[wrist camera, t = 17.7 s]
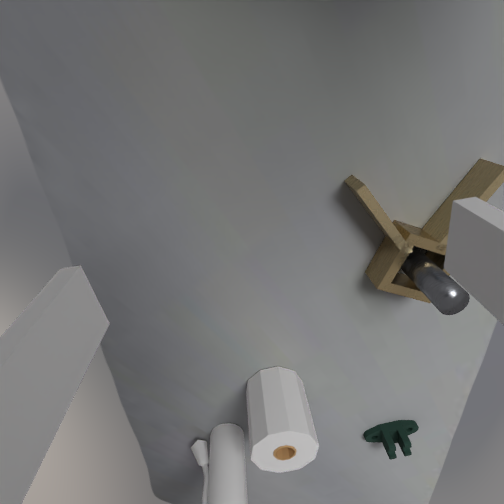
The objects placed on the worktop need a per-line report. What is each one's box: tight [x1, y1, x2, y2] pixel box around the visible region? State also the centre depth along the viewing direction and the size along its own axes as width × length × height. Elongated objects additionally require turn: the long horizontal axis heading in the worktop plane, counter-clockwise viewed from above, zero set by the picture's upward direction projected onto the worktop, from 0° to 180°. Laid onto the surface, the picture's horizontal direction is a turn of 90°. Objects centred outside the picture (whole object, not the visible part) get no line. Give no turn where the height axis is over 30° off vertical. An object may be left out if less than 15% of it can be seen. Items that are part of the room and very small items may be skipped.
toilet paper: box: [246, 366, 319, 473], centre depth 55 cm, size 10×10×12 cm
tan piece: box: [345, 159, 504, 303], centre depth 44 cm, size 20×18×4 cm
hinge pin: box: [401, 246, 469, 315], centre depth 43 cm, size 4×4×12 cm
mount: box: [364, 420, 419, 459], centre depth 66 cm, size 11×4×5 cm, turn 104°
